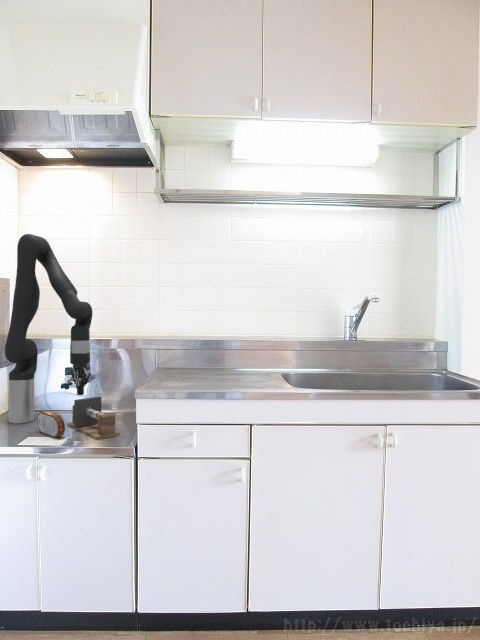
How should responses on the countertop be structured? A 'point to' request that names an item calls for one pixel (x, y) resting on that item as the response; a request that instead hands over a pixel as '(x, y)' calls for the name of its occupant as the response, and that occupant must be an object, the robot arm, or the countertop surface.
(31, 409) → the robot arm
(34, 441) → the countertop surface
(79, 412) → the dark grey square plate
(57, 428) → the tin
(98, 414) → the rod stand
